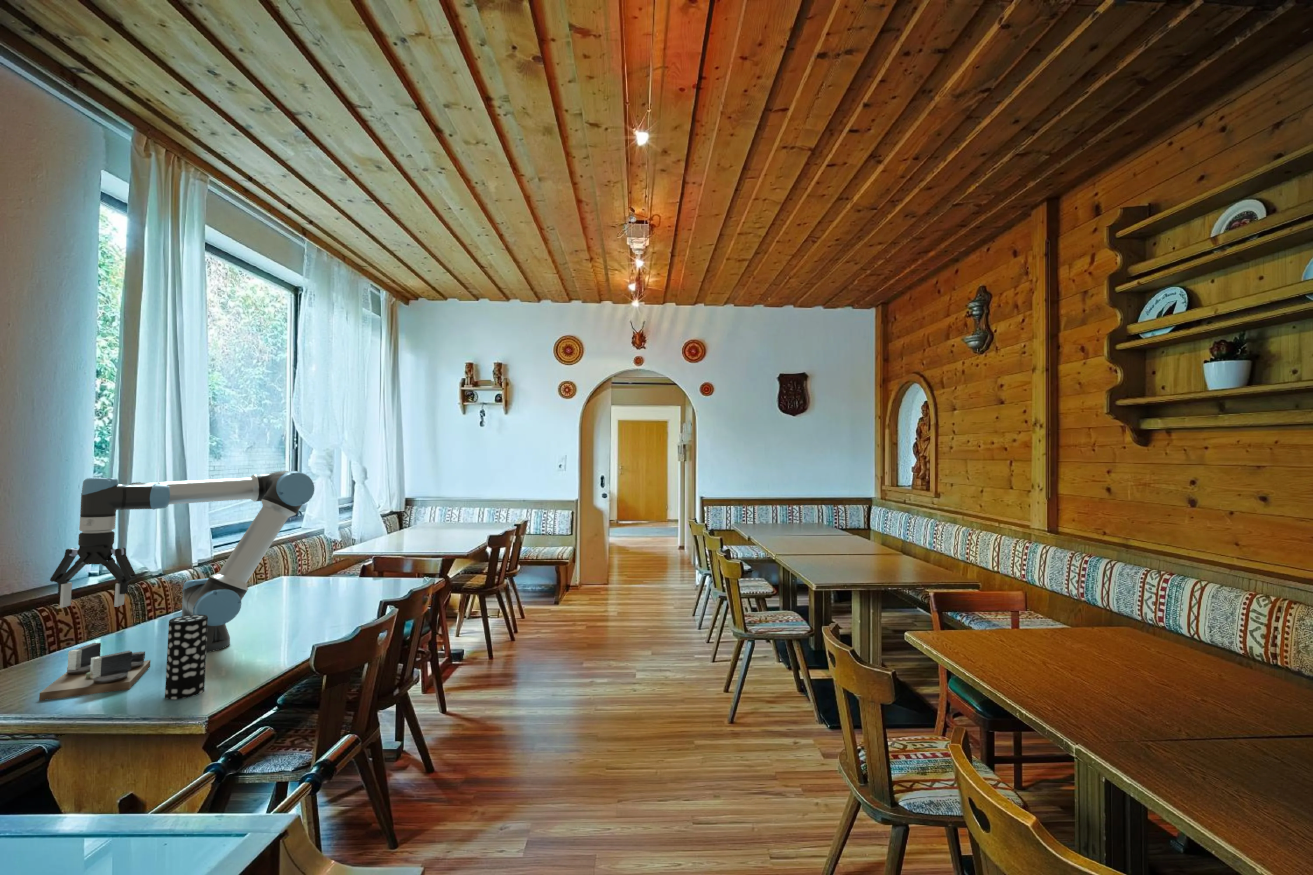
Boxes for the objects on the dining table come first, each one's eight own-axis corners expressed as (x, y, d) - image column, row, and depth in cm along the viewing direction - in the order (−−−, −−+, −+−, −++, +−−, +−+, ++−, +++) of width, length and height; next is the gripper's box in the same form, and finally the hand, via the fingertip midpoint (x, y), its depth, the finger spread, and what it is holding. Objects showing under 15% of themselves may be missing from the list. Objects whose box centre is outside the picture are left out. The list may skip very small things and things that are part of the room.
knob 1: (83, 665, 173) (84, 642, 174) (108, 665, 174) (110, 642, 174) (57, 675, 165) (59, 651, 166) (84, 674, 166) (86, 651, 166)
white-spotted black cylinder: (179, 687, 163) (183, 614, 164) (211, 687, 164) (215, 614, 165) (156, 699, 155) (160, 622, 156) (190, 699, 156) (194, 622, 157)
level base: (150, 666, 180) (150, 655, 180) (129, 689, 162) (129, 677, 162) (70, 675, 171) (71, 664, 171) (39, 700, 154) (39, 687, 154)
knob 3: (147, 660, 178) (147, 648, 178) (140, 667, 172) (140, 655, 172) (116, 664, 175) (116, 651, 175) (107, 671, 169) (108, 658, 169)
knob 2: (124, 671, 168) (126, 648, 169) (134, 676, 165) (135, 653, 165) (86, 680, 162) (88, 656, 162) (95, 685, 158) (96, 661, 158)
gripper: (35, 532, 165) (30, 609, 163) (136, 532, 168) (131, 608, 167) (58, 529, 172) (53, 603, 171) (154, 530, 176) (150, 602, 175)
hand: (92, 606), depth 169 cm, fingers open, 13 cm apart
